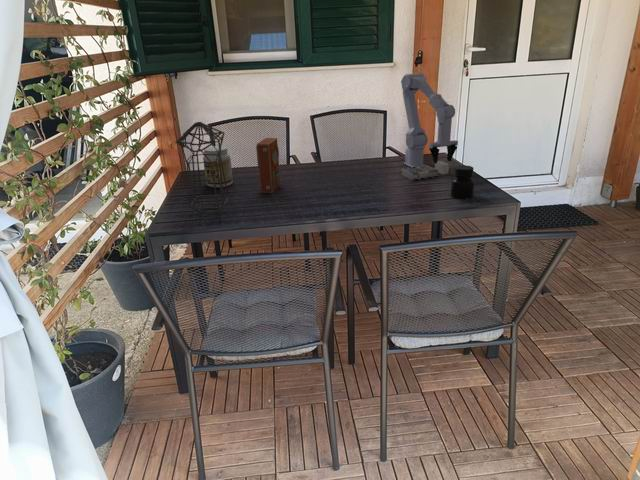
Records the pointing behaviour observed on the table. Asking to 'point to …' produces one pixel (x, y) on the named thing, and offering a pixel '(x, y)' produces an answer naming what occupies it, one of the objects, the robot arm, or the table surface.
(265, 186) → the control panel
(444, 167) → the beige rectangular block
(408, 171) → the rack
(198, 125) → the geometric lantern
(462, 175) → the ink bottle
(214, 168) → the supplement tub
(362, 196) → the table surface
